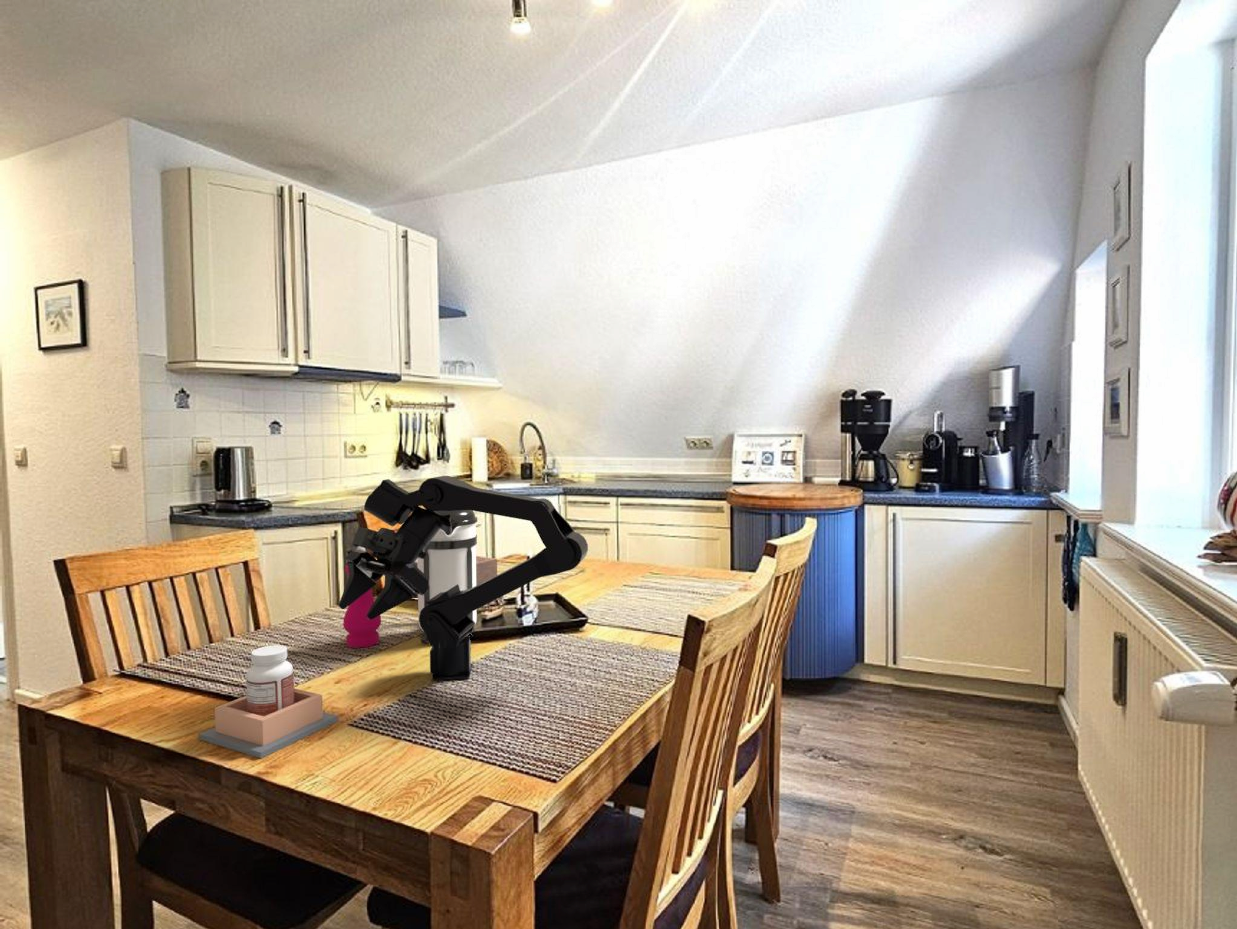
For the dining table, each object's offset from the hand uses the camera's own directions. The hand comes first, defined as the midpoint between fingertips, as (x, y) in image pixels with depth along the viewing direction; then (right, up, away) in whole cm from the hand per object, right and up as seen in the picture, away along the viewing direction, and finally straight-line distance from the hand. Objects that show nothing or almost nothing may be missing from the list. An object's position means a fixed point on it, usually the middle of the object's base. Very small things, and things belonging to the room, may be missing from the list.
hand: (354, 612), depth 115 cm
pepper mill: (-9, -12, +27) cm, 31 cm away
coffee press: (+7, -12, +34) cm, 37 cm away
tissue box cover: (-3, -10, +67) cm, 68 cm away
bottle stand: (-7, -14, -13) cm, 21 cm away
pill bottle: (-7, -14, -13) cm, 20 cm away
